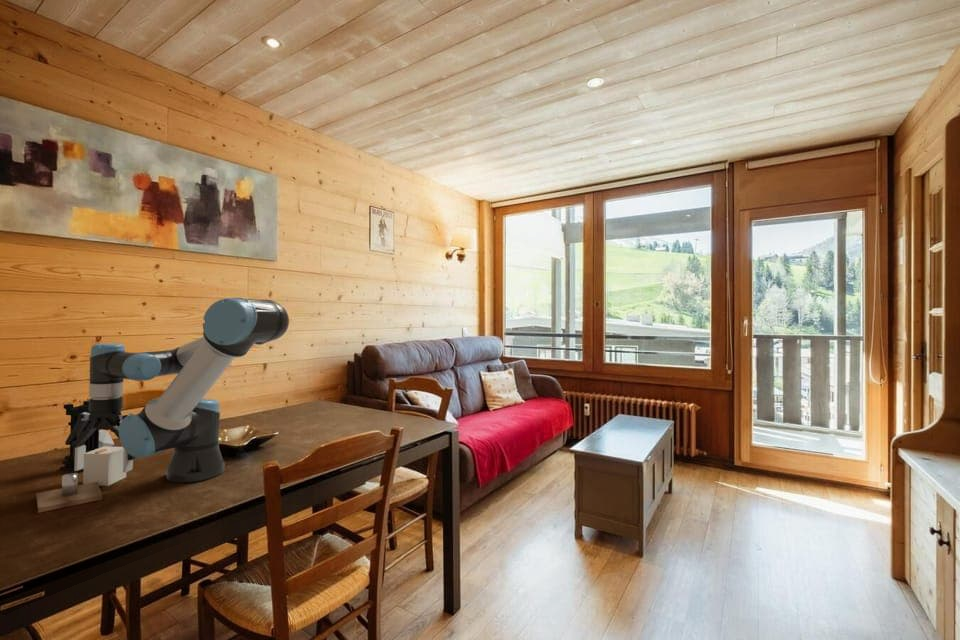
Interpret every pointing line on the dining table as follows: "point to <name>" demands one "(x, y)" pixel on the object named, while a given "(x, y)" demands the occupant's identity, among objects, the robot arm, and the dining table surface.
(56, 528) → the dining table surface
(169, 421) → the robot arm
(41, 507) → the hub plate
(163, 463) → the dining table surface
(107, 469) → the cream white block
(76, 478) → the d post
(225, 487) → the dining table surface
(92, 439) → the chess piece
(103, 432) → the die
